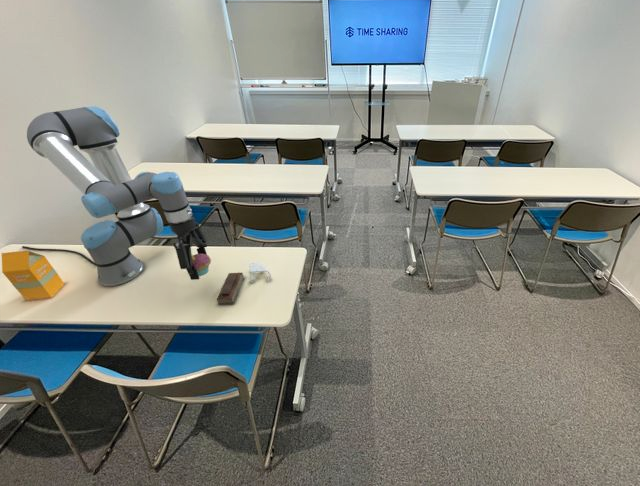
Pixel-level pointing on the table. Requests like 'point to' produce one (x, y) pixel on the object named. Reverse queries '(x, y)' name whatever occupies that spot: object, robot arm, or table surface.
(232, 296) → the brown rectangular panel
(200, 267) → the cupcake
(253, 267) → the origami figure
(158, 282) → the table surface
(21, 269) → the orange juice
